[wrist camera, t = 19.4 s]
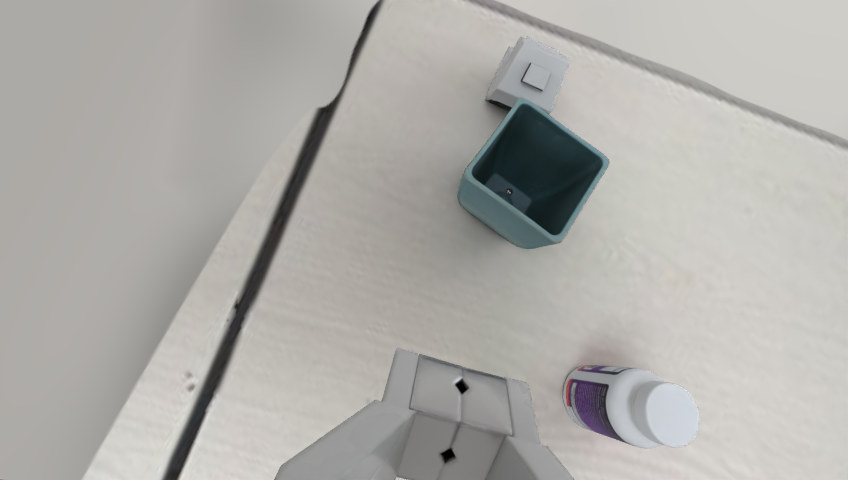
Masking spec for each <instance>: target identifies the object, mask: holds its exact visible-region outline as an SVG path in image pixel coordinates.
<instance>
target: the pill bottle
mask: <svg viewBox="0 0 848 480" xmlns="http://www.w3.org/2000/svg"><path fill="white" fill-rule="evenodd" d="M563 400H564V405H565V408H566V410H567V412H568V414H569V415H570V417H571V418H572V419H573V420H574V421H575V422H576V423H577V424H578V425H580V426H582V427H583V428H586V429H588V430H590V431H594V432H596V433H599V434H602V435H605V436H608V437H611V438H614V439H617V440H619V441H622V442H625V443H628V444H630V445H633V446H636V447H640V448H656V447H659V446H661V445H665V446H668V447H673V448H679V447H684V446H686V445H687V444H689V443H690V442H691V441H692V440H693V439H694V438H695V436H696V434H697V432H698V428H699V412H698V408H697V405H696V403H695V401H694V399H693V398H692V396H691V395H690V394H689V393H688V391H686V390H685V389H684V388H683V387H681V386H679V385H677V384H674V383H669V382H665V381H664V380H663V379H662V378H660V377H659V376H658V375H656V374H654V373H652V372H650V371H647V370H643V369H637V368H624V367H612V366H598V365H584V366H581V367H578V368H577V369H575V370H574V371H572V372H571V373H570V375H569V376H568V378H567V379H566V382H565V385H564V389H563Z"/></svg>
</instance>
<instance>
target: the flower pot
mask: <svg viewBox="0 0 848 480" xmlns="http://www.w3.org/2000/svg"><path fill="white" fill-rule="evenodd" d="M608 165H609V159H608V158H607V157H606V156H605V155H604V154H602V153H601V152H600V151H599V150H597V149H596V148H594V147H593V146H591V145H590V144H588V143H587V142H586V141H584V140H583V139H581V138H580V137H578V136H577V135H575V134H574V133H573V132H571V131H570V130H569V129H567V128H566V127H564V126H563V125H562V124H560V123H559V122H558V121H556V120H555V119H554V118H552V117H551V116H550V115H549V114H547V113H545V112H544V111H543V110H542V109H540V108H539V107H538V106H536V105H535V104H533V103H532V102H531V101H529V100H527V99H525V98H522V97H521V98H519V99H518V100H517V102H516V103H515V104H514V106H513V107H512V109H511V110H510V111H509V113H508V114H507V115H506V117H505V118H504V120H503V121H502V122H501V124H500V125H499V126H498V128H497V129H496V130H495V132H494V133H493V134H492V136H491V137H490V138H489V140H488V141H487V142H486V144H485V145H484V146H483V148H482V149H481V150H480V151H479V153H478V154H477V155H476V156H475V158H474V159H473V160H472V162H471V163H470V164H469V165H468V166H467V168H466V169H465V171H464V174H463V177H462V180H461V183H460V186H459V189H458V194H457V197H458V201H459V203H460V205H461V206H462V207H463V208H465V209H466V210H467V211H468V212H470V213H471V214H473V215H474V216H475V217H477V218H478V219H480V220H481V221H482V222H484V223H485V224H486V225H488V226H489V227H490V228H492V229H493V230H494V231H496V232H497V233H499V234H500V235H501V236H503V237H504V238H505V239H507V240H508V241H509V242H511V243H512V244H514V245H516V246H518V247H521V248H525V249H533V248H538V247H543V246H548V245H552V244H557V243H560V242H562V240H563V239H564V238H565V236H566V234H567V233H568V231H569V229H570V228H571V226H572V224H573V223H574V221H575V219H576V218H577V216H578V214H579V213H580V211H581V210H582V208H583V206H584V204H585V203H586V201H587V199H588V198H589V196H590V195H591V193H592V191H593V190H594V188H595V187H596V185H597V183H598V182H599V180H600V179H601V177H602V176H603V174H604V172H605V171H606V169H607V167H608ZM508 189H509V190H511V194H508V193H507V192H506V191H507V190H508Z"/></svg>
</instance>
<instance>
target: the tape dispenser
mask: <svg viewBox="0 0 848 480" xmlns="http://www.w3.org/2000/svg"><path fill="white" fill-rule="evenodd" d="M569 62H570V59H569V58H568V57H566V56H563V55H561V54H559V51H558V50H556V49H554V48H551V47H549V46H547V45H544V44H542V43H540V42H538V41H536V40H534V39H532V38H530V37H528V36H527V37H526V38H524V37H520V39H519V40H518V41H517V43H516V45H515V47H514V48H512V47H510V46H509V47H508V49H507V51H506V53H505V55H504V57H503V59H502V61H501V63H500V66H499V68H498V70H497V72H496V74H495V76H494V79H493V81H492V83H491V86H490V88H489V91H488V93H487V95H486V98H485V99H487V100H490V101H489V102H492V103H494V104H496V105H499V106H501V107H503V108H505V109H508V110H511V109H512V107H513V106H514V104H515V103H516V102H517V100H518V99H519V98H521V97H522V98H525V99H527V100H529V101H531V102H532V103H533V104H535V105H536V106H538V107H539V108H540V109H542V110H543V111H544V112H545V113H547V114H550V112H551V111H552V108H553V105H554V102H555V99H556V97H557V94H558V92H559V90H560V87H561V85H562V82H563V80H564V77H565V74H566V71H567V68H568V65H569Z"/></svg>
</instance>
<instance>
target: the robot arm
mask: <svg viewBox="0 0 848 480" xmlns="http://www.w3.org/2000/svg"><path fill="white" fill-rule="evenodd" d="M396 477H400V478H404V479H408V480H574V478H573V477H572V476H571V475H570V473H569V472H568V471H567V470H566V468H565V467H564V466H563V465H562V464H561V462H560V461H559V460H558V459H557V457H556V456H555V455H554V454H553V452H552V451H551V450H550V449H549V448H548V447H547V446H544V445H541V444H540V439H539V434H538V429H537V424H536V419H535V414H534V409H533V404H532V399H531V394H530V389H529V385H528V384H527V383H526V382H522V381H518V380H514V379H510V378H506V377H504V378H503V377H499V376H496V375H492V374H488V373H484V372H480V371H477V370H473V369H469V368H465V367H462V366H459V365H455V364H452V363H449V362H445V361H442V360H438V359H435V358H432V357H428V356H425V355H422V354H419V356H418V354H417V353H414V352H410V351H407V350H403V349H400V348H397V349H396V351H395V355H394V358H393V362H392V366H391V369H390V373H389V377H388V380H387V384H386V388H385V391H384V395H383V399H382V401H378V400H374V401H373V402H371V403H370V404H368V405H367V406H365V407H364V408H363V409H361V410H360V411H358V412H357V413H355V414H354V415H353V416H351V417H350V418H348V419H347V420H345V421H344V422H343V423H341V424H340V425H338V426H337V427H335V428H334V429H333V430H331V431H330V432H328V433H327V434H325V435H324V436H323V437H321V438H320V439H318V440H317V441H316V442H314V443H313V444H311V445H310V446H308V447H307V448H306V449H304V450H303V451H301V452H300V453H298V454H297V455H296V456H294V457H293V458H291V459H290V460H288V461H287V462H286V463H284V464H283V465H281V467H280V469H279V471H278V473H277V475H276V477H275V479H274V480H395V479H396ZM0 480H3V479H0Z"/></svg>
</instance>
